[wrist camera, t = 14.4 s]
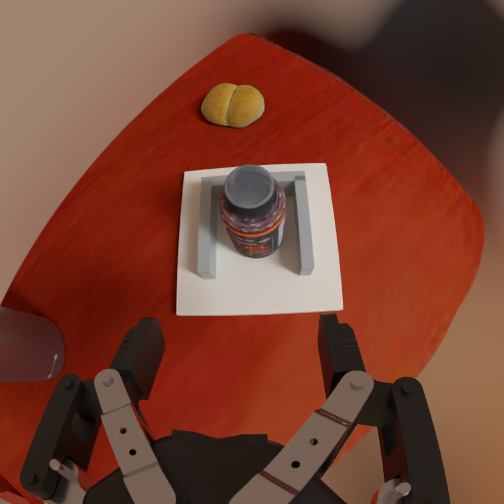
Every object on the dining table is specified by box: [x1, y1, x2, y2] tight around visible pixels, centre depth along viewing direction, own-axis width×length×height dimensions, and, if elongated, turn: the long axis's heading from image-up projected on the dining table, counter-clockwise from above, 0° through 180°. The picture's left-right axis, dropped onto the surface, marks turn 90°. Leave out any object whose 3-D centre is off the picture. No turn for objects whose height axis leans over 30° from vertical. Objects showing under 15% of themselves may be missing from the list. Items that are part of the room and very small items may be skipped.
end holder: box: [176, 163, 343, 316], centre depth 32 cm, size 18×18×4 cm
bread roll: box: [201, 83, 264, 128], centre depth 39 cm, size 8×9×4 cm
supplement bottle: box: [218, 164, 286, 259], centre depth 28 cm, size 6×6×11 cm
